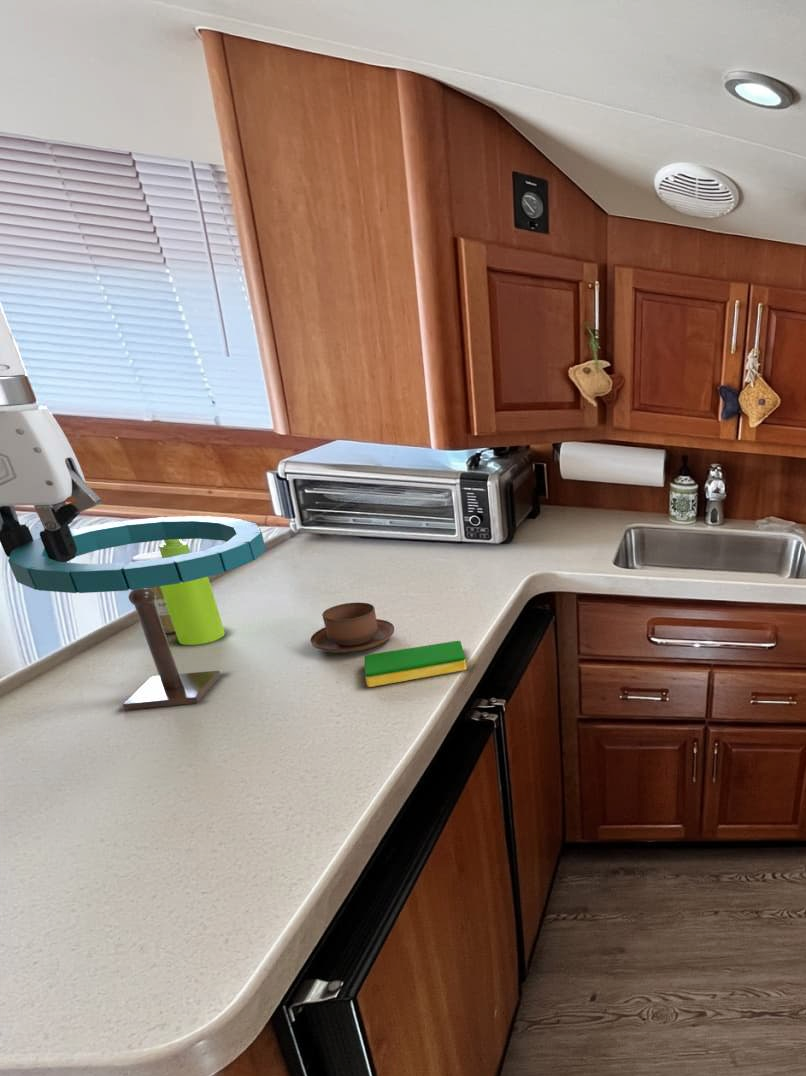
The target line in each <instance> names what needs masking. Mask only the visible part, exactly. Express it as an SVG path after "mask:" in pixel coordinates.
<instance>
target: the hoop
mask: <svg viewBox="0 0 806 1076" xmlns="http://www.w3.org/2000/svg"><path fill="white" fill-rule="evenodd" d="M70 531H71V534H72V537H73V539H74V542H75V545H76V547H77V552H76V557H80V556H83V555H86V554H90V553H93V552H96V551H101V550H105V549H111V548H116V547H121V546H126V545H132V544H141V543H149V542H159V541H160V542H161V541H164V540H169V539H179V540H211V541H222V543H220V544H217V545H214V546H211V547H209V548H206V549H202V550H197V551H193V552H190V553H187V554H182V555H178V556H173V557H168V558H160V559H152V560H144V561H136V562H132V561H130V562H110V563H109V562H107V563H78V562H57V561H54V560H52V559H50V558H49V556H48V553H47V551H46V548H45V547H44V545H43V542H42V540H41V537H38V538H36V539H33V541H31V542H29V543H27V544H25V545H22V546H20V547H18V548H16V549H14V550H12V551H11V554H10V557H8V559H7V562H8V564H9V567H10V569H11V571H12V574H13V576H14V579H15V581H16V582H17V583H18V584H21V585H22V586H26V587H28V588H30V589H33V590H35V591H41V592H42V591H43V592H53V593H66V594H67V593H68V594H89V593H92V594H93V593H107V592H109V593H110V592H124V591H125V592H127V591H129V590H130V591H132V590H137V589H144V588H151V587H158V586H164V585H171V584H178V583H180V582H183V583H184V582H188V581H192V580H196V579H200V578H204V577H208V578H209V577H211V576H216V575H220V574H221V575H222V574H225V573H226V572H230V571H232V570H235V569H237V568H241V567H243V566H245V565H247V564H249V563H253V562H254V561H256V560H257V559H259V557H260V556H262V555H263V554H264V553H265V552H266V551H267V547H266V544H265V540H264V536H263V533H262V531H261V529H260V527H259V525H258V524H257V523H254V522H250V521H248V520H244V519H240V518H235V517H223V516H221V517H220V516H209V515H206V516H204V515H201V516H200V515H198V516H191V515H190V516H167V517H165V516H161V517H160V516H159V517H150V518H138V519H127V520H122V521H120V520H119V521H113V522H106V523H101V524H95V525H89V526H83V527H77V528H73V529H70ZM223 541H224V542H223Z"/></svg>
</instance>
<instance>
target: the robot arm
mask: <svg viewBox="0 0 806 1076" xmlns="http://www.w3.org/2000/svg"><path fill="white" fill-rule="evenodd" d="M34 392H35V391H34V390H33V387H32V383H31V381H30V379H29V376H28V374H27V370H26V368H25V365H24V362H23V360H22V357H21V354H20V352H19V348H18V345H17V342H16V341H15V338H14V335H13V332H12V330H11V327H10V325H9V322H8V319H7V317H6V314H5V311H4V309H3V306H2V303H1V302H0V545H1V548H2V549H3V552H4V555H5V556H6V557H7V558H9V557H10V554H11V551H12V550H14V549H16V548H18V547H20V546H22V545H25V544H27V543H29V542H31V541H33V540H34V538H33V535H32V532H31V530H30V527H29V526H27V524H21V523H20V520H19V517H18V514H17V512H16V509H15V507H16V506H19V507H20V506H23V507H24V506H25V507H26V506H33V508H34V510H35V511H36V514H37V516H38V518H39V520H40V522H41V524H42V527H43V529H44V530H41V531H40V532H39V538H41V540H42V542H43V545H44V547H45V548H46V551H47V553H48V556H49V558H50V559H52V560H54V561H57V562H66V563H69V562H70V561H72V560H73V559H75V558H76V557H77V556H76V552H77V547H76V545H75V542H74V539H73V537H72V534H71V531H70V530H71V529H70V527H69V525H70V524H72V523H73V522H74V520H75V518H77V517H78V516H79V515H80V513H82V512H84V511H87V510H89V509H91V508H92V509H93V508H94V507H96V506H98V505H101V504H102V502H103V499H102V497H100V496H99V495H98V494H97V493H96V491H94V490H93V489H92V488H91V487H90V486H89V485H88V484H87V482H86V479H85V476H84V473H83V470H82V468H81V465H80V463H79V460H78V458H77V456H76V454H75V452H74V449H73V447H72V446H71V444H70V442H69V439H68V437H67V436H66V434H65V432H64V431H63V429H62V427H61V426H60V425H59V423H58V421H57V419H56V418H55V417H54V415H53V414H52V413H51V411H50V410H49V408H48V407H47V406H46V405H39V403H38V400H37V397H36V395H35V393H34ZM70 497H74V501H71V502H69V503H67V502H66V500H67V499H68V498H70Z"/></svg>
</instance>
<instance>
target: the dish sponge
mask: <svg viewBox="0 0 806 1076" xmlns="http://www.w3.org/2000/svg"><path fill="white" fill-rule="evenodd" d="M467 668H468V667H467V660H466V655H465V652H464V649H463V645H462V641H461V640H454V641H447V642H446V641H445V642H441V643H434V644H427V645H421V646H416V647H409V648H403V649H396V650H390V651H384V652H377V653H370V654H366V655H364V677H365V683H366V686H367V687H369V688H371V687H377V686H378V687H379V686H383V685H388V684H395V683H400V682H406V681H411V680H417V679H423V678H427V677H433V676H439V675H443V674H444V675H445V674H451V673H455V672H460V671H466V670H467Z"/></svg>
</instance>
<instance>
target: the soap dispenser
mask: <svg viewBox="0 0 806 1076" xmlns="http://www.w3.org/2000/svg"><path fill="white" fill-rule="evenodd" d="M163 541H164V542H163V543H161V544H159V546H158V548H159V552H161V555H162V558H168V557H173V556H178V555H182V554H187V553H191V550H190V547H189V544H188V543H187V542H185V541H182V540H180V539H169V540H163ZM160 587H161V590H162V593H163V596H164V599H165V602H166V605H167V608H168V611H169V614H170V617H171V620H172V623H173V626H174V629H175V632H174V633H175V635H176V638H177V641H178V643H179V644H181V645H184V646H197V645H203V644H208V643H212V642H215V641H217V640H220V639H221V638H223V637H224V636H225V635H226V633H225V628H224V626H223V622H222V619H221V618H222V617H221V614H220V611H219V609H218V605H217V602H216V601H217V600H216V598H215V595H214V592H213V588H212V584H211V582H210V578H209V576H208V577H204V578H200V579H196V580H192V581H188V582H184V583H183V582H180V583H178V584H171V585H164V586H160Z"/></svg>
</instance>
